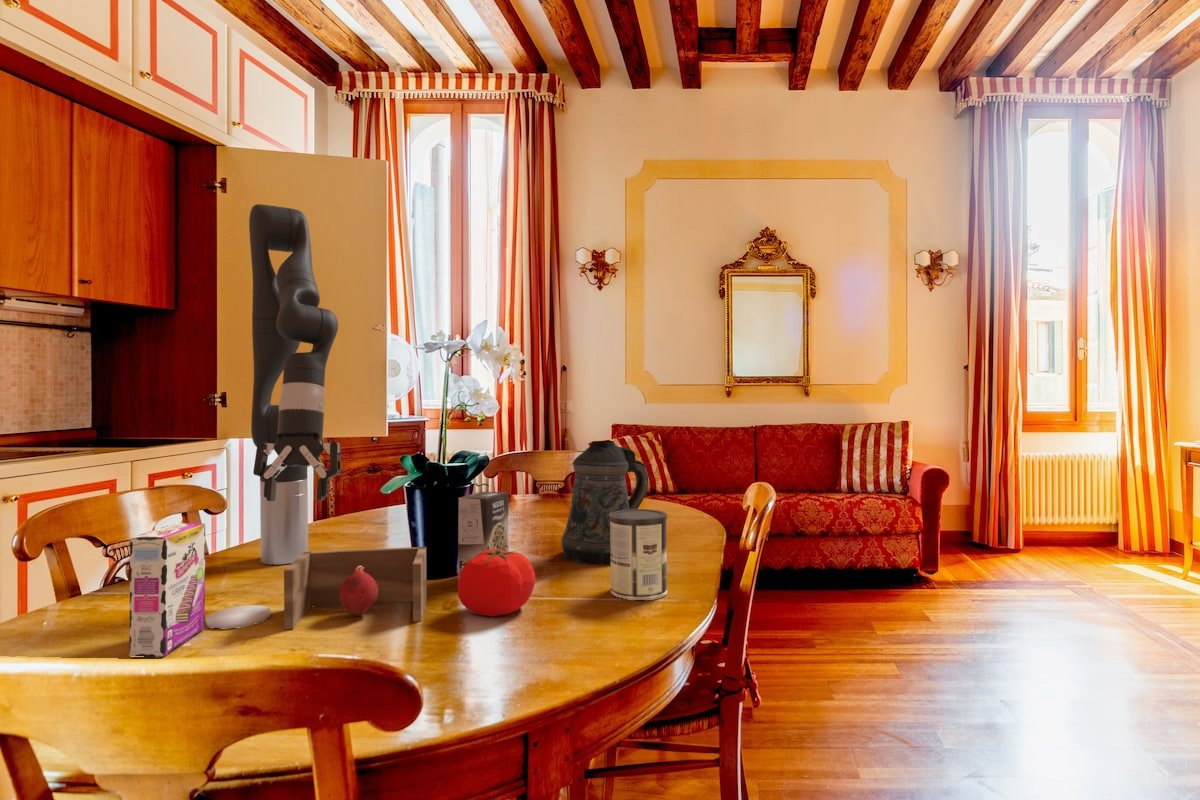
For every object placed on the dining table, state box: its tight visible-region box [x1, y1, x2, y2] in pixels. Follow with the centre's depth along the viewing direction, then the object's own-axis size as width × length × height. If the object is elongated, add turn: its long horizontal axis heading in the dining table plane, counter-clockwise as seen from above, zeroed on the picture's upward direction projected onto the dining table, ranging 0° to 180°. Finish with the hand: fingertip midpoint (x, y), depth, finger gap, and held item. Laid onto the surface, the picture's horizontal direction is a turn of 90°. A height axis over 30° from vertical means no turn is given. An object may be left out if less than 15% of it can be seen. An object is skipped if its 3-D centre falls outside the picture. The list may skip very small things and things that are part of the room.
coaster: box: [205, 604, 271, 629], centre depth 106 cm, size 9×9×1 cm
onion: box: [339, 566, 378, 617], centre depth 108 cm, size 6×6×8 cm
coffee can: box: [609, 508, 668, 601], centre depth 120 cm, size 10×10×14 cm
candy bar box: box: [128, 522, 206, 659], centre depth 96 cm, size 11×5×16 cm, turn 5°
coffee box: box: [457, 491, 510, 582], centre depth 130 cm, size 9×6×16 cm
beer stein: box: [561, 440, 650, 565], centre depth 148 cm, size 16×19×25 cm
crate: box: [283, 546, 428, 631], centre depth 109 cm, size 12×20×9 cm, turn 100°
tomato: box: [457, 548, 536, 618], centre depth 110 cm, size 11×13×10 cm
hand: (295, 500), depth 119 cm, fingers open, 8 cm apart
